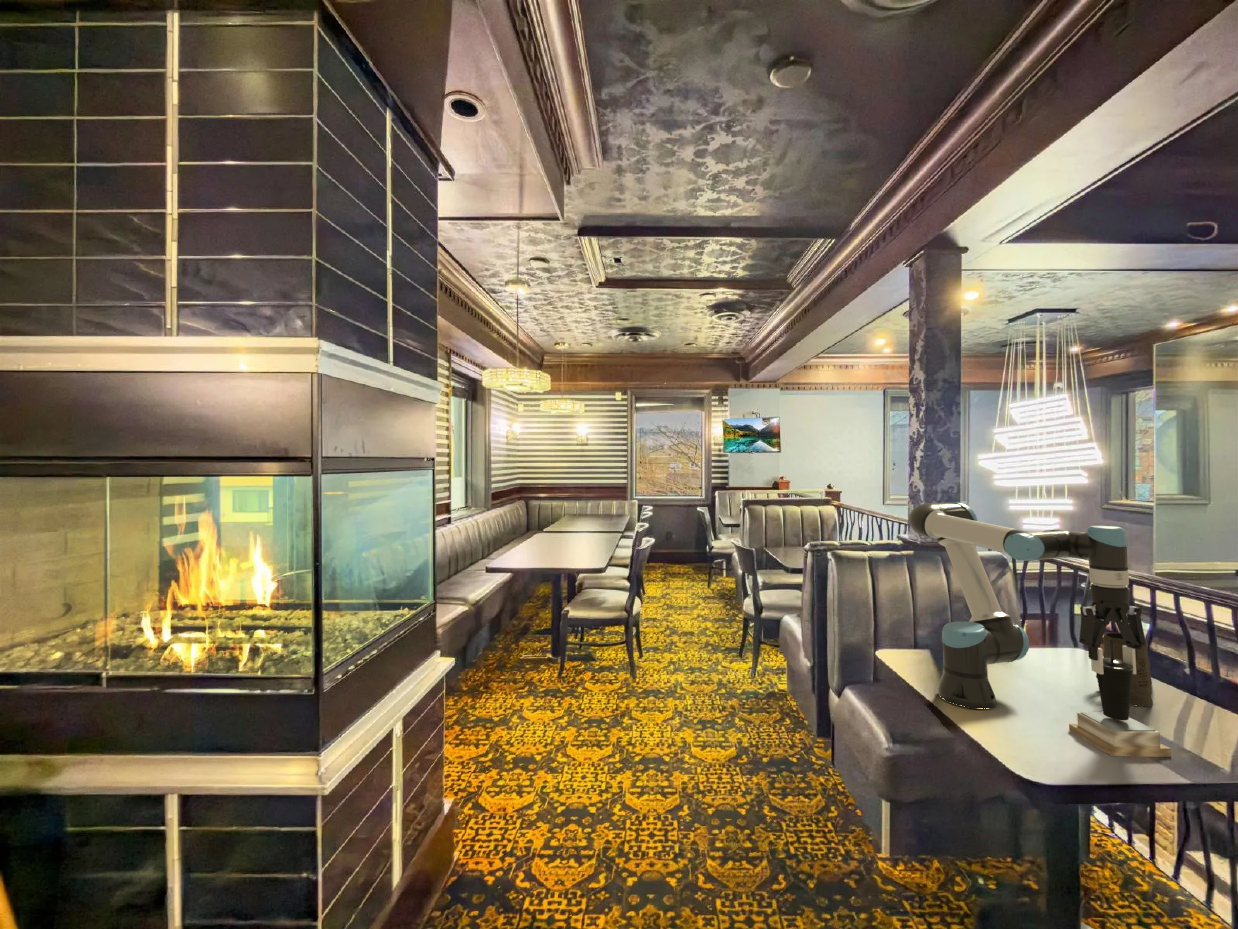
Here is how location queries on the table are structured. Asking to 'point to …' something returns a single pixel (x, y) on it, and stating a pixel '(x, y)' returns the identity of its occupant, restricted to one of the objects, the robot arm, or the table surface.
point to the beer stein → (1142, 678)
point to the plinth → (1120, 749)
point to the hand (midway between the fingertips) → (1113, 672)
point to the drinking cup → (1115, 687)
